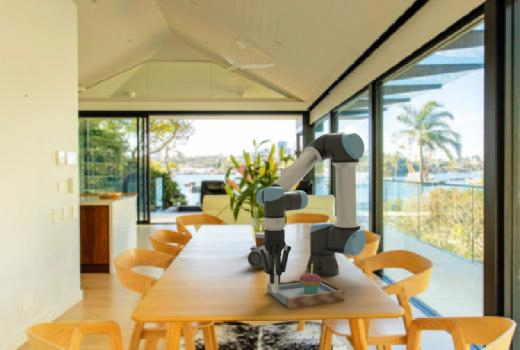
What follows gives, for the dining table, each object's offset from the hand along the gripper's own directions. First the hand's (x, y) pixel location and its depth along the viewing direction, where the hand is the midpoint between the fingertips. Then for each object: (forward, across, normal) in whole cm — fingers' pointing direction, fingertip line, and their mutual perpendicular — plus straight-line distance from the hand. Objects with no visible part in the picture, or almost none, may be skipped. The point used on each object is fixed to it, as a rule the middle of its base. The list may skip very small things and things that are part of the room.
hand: (275, 291), depth 144 cm
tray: (+3, +12, 0) cm, 12 cm away
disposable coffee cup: (+4, +25, +71) cm, 75 cm away
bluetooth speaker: (+4, +17, +49) cm, 52 cm away
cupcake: (+2, +15, 0) cm, 15 cm away
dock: (+3, +13, 0) cm, 13 cm away
